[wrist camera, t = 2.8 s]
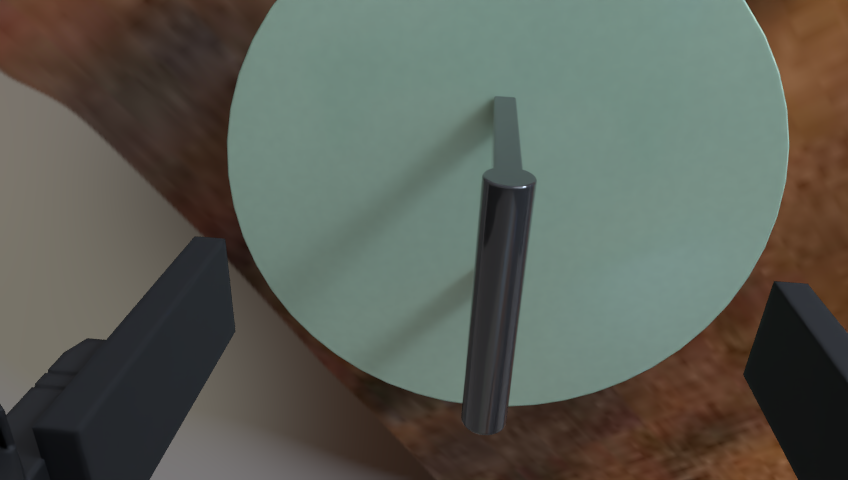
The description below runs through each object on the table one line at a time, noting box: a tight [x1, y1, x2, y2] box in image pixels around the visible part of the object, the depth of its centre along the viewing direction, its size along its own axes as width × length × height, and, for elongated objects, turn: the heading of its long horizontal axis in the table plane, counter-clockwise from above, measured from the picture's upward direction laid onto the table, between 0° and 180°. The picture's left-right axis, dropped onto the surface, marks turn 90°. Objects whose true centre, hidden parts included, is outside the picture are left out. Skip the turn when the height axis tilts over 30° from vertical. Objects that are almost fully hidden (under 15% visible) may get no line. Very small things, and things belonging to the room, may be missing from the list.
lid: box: [227, 0, 789, 435], centre depth 20 cm, size 18×18×9 cm
